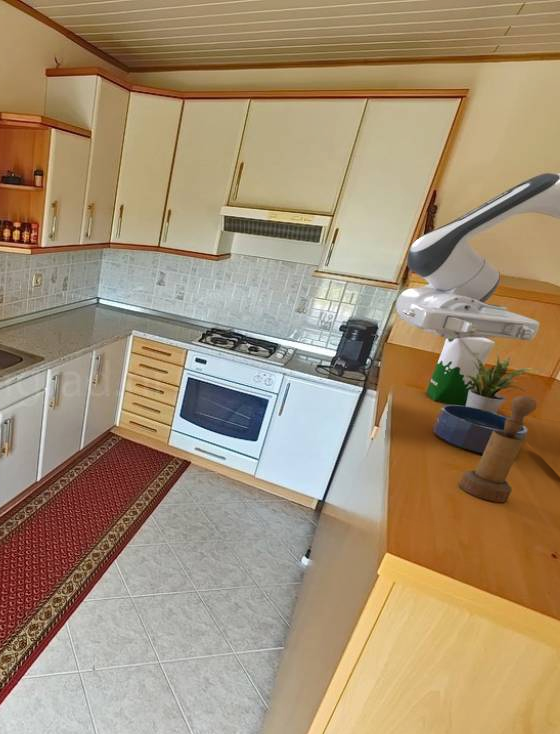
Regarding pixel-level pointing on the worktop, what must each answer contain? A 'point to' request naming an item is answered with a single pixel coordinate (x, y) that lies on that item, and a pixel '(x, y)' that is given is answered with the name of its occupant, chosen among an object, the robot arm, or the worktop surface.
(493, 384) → the house plant
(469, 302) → the robot arm
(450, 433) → the bowl
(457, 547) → the worktop surface
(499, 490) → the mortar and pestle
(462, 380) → the milk carton
